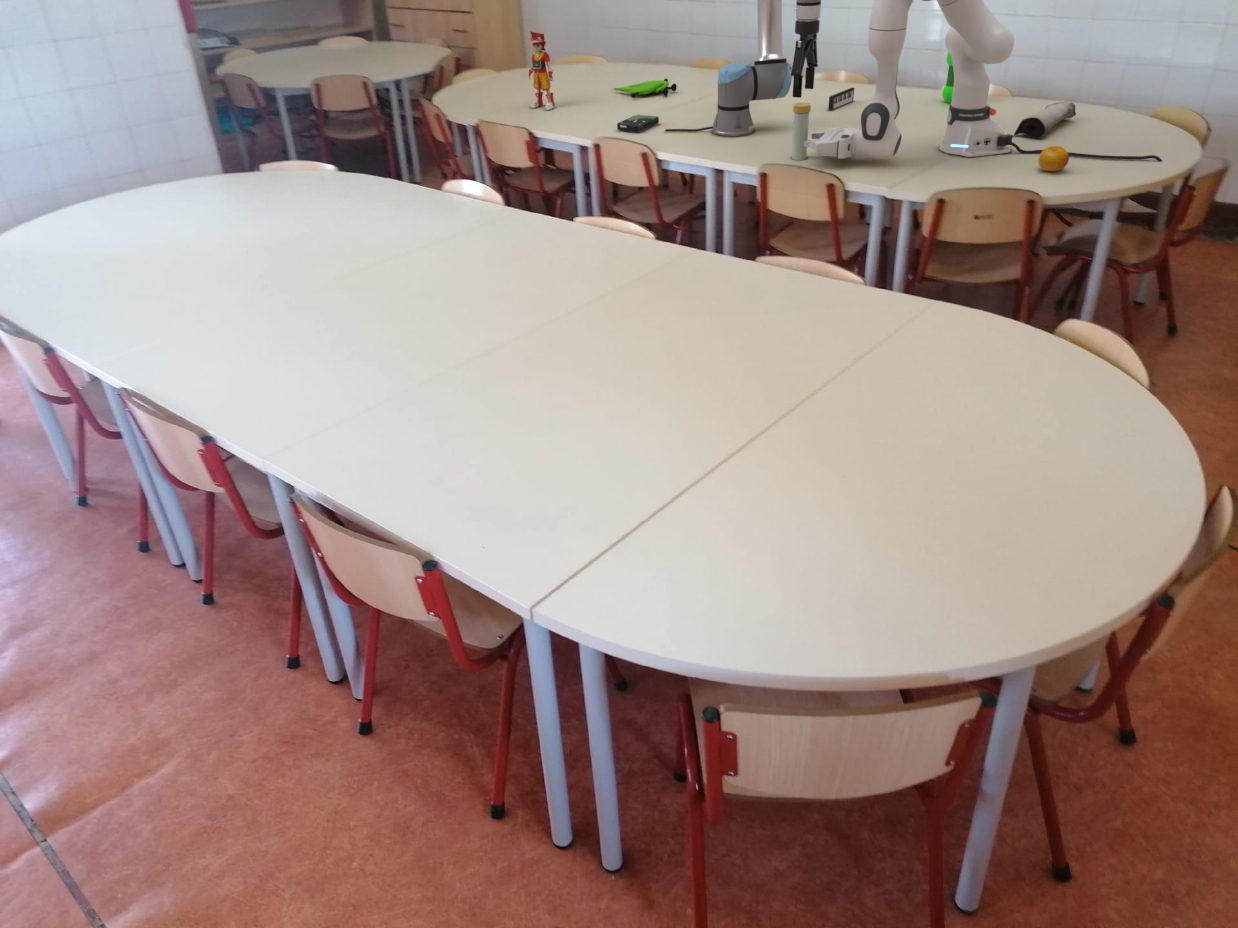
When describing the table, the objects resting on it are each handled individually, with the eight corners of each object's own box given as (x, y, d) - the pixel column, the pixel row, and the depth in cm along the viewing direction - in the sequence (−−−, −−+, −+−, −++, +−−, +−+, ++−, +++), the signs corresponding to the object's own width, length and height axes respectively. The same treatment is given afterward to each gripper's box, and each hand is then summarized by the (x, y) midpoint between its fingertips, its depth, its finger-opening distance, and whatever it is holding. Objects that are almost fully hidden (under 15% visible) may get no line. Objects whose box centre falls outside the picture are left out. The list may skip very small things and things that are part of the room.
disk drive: (640, 133, 341) (659, 123, 351) (639, 126, 339) (659, 116, 349) (617, 131, 346) (636, 121, 356) (616, 123, 344) (636, 113, 354)
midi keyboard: (831, 110, 354) (832, 97, 351) (828, 110, 355) (829, 96, 352) (853, 101, 364) (854, 88, 361) (850, 100, 365) (851, 87, 362)
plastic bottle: (973, 101, 354) (984, 32, 339) (955, 106, 349) (966, 36, 335) (952, 97, 361) (962, 29, 346) (934, 102, 356) (944, 33, 342)
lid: (813, 111, 295) (814, 105, 294) (800, 114, 293) (800, 107, 292) (803, 108, 299) (803, 101, 298) (789, 111, 297) (790, 104, 296)
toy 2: (686, 85, 398) (631, 84, 414) (685, 72, 395) (629, 72, 411) (651, 104, 381) (596, 103, 397) (650, 92, 378) (594, 91, 394)
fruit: (1033, 161, 277) (1052, 138, 274) (1031, 164, 284) (1049, 141, 281) (1057, 177, 275) (1075, 153, 272) (1054, 179, 283) (1072, 156, 280)
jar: (809, 158, 304) (812, 106, 295) (797, 161, 302) (800, 108, 293) (800, 155, 308) (803, 103, 298) (788, 157, 306) (791, 106, 296)
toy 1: (525, 109, 381) (517, 32, 364) (534, 104, 388) (527, 28, 371) (550, 110, 377) (543, 32, 360) (559, 105, 384) (553, 28, 367)
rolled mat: (1043, 107, 330) (1067, 89, 322) (1056, 128, 330) (1081, 111, 322) (1009, 129, 312) (1034, 111, 304) (1024, 151, 313) (1049, 134, 305)
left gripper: (808, 13, 291) (803, 84, 303) (783, 26, 274) (779, 100, 286) (830, 13, 288) (825, 85, 300) (806, 26, 271) (802, 102, 283)
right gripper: (857, 124, 301) (817, 121, 306) (843, 140, 286) (800, 137, 291) (855, 143, 304) (815, 140, 310) (841, 160, 289) (799, 157, 295)
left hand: (803, 93), depth 293 cm, fingers open, 11 cm apart
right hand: (808, 139), depth 300 cm, fingers open, 8 cm apart
